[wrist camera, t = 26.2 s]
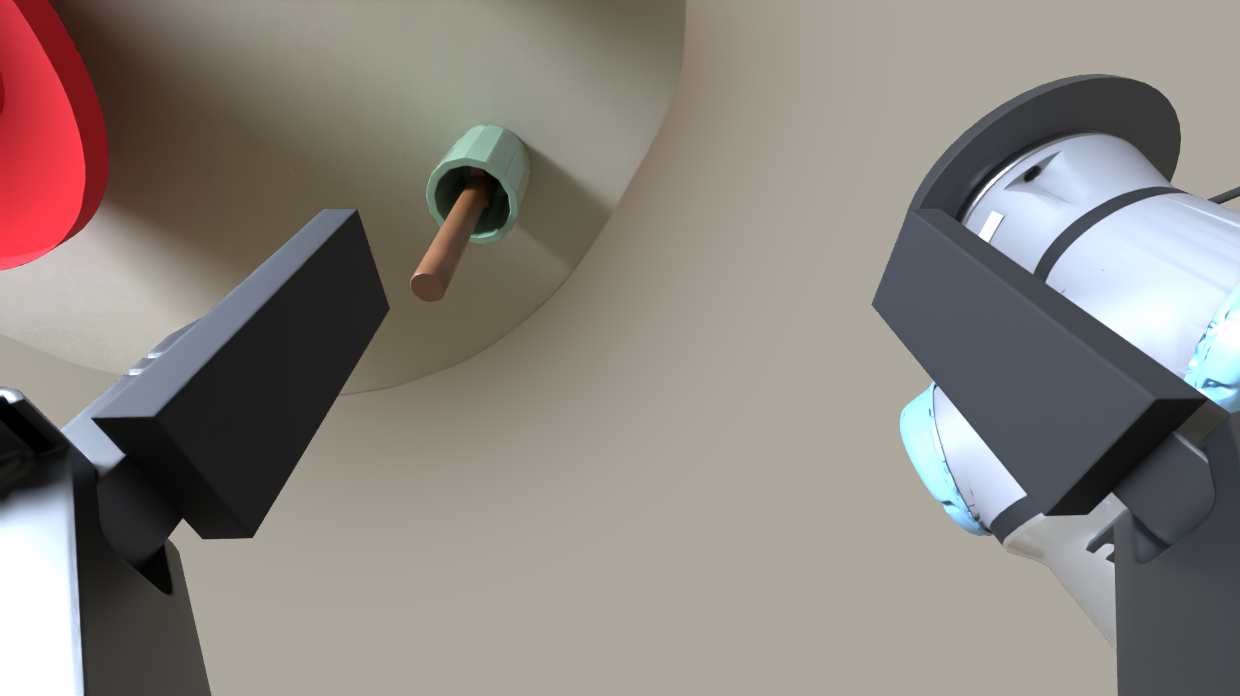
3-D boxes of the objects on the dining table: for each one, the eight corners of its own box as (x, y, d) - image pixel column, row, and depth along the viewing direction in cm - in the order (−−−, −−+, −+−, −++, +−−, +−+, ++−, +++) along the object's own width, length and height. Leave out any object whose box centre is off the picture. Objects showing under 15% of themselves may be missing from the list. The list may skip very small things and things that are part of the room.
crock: (526, 123, 40) (512, 157, 33) (533, 200, 44) (522, 245, 37) (448, 123, 40) (416, 156, 33) (462, 200, 44) (437, 245, 37)
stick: (498, 146, 41) (438, 261, 25) (503, 185, 43) (450, 313, 27) (476, 146, 41) (402, 260, 25) (482, 184, 43) (417, 313, 27)
